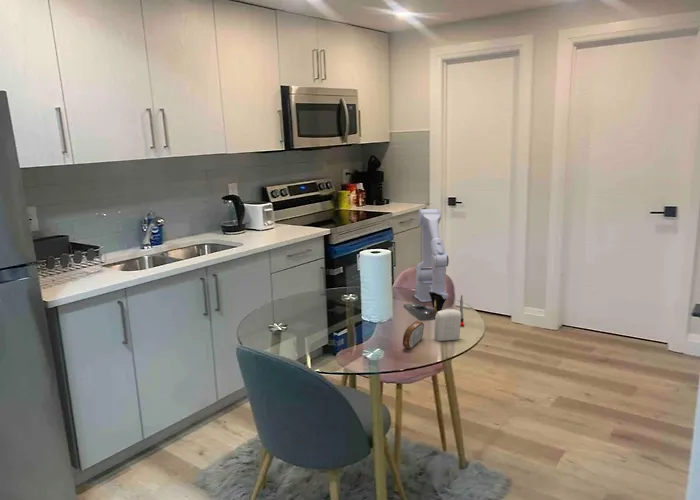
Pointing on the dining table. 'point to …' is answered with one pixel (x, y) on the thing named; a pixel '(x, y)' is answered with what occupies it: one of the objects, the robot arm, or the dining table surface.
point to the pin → (435, 307)
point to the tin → (413, 334)
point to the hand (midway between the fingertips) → (437, 309)
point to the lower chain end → (411, 306)
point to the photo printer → (447, 325)
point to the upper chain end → (423, 312)
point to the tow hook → (461, 310)
